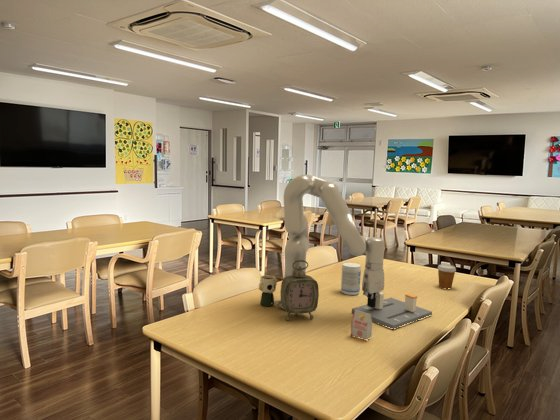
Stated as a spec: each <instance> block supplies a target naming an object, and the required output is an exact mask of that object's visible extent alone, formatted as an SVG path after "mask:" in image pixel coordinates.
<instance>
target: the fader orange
mask: <svg viewBox="0 0 560 420" xmlns="http://www.w3.org/2000/svg"><path fill="white" fill-rule="evenodd" d="M404 297H405V299H404V300H405V301H404V302H405V310H408V311H411V312H414V311H416V306H417V299H418V296H417V295H415V294H412V293H405V294H404Z"/></svg>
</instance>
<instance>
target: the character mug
mask: <svg viewBox="0 0 560 420" xmlns="http://www.w3.org/2000/svg"><path fill="white" fill-rule="evenodd" d="M259 281H260V282H259V283H258V290H259V291H260V292H262V293H261V295H260V296H261V297H260V302H259V303H260V304H261V305H263V306H264V307H270V306H274V305H275V296H274V292H276V290H277V288H276V287H277V283H278V280H277V277H276V276H274V275H269V274H267V275H266V274H265V275H264V274H263V275H261V276H260V280H259Z"/></svg>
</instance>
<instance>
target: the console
mask: <svg viewBox="0 0 560 420" xmlns="http://www.w3.org/2000/svg"><path fill="white" fill-rule="evenodd" d="M354 310H358V311H362V312H365V313H369V314H371V319H372V321H373V322H372V323H375V322H376V323H375V324H377V323H379V324H381V325H380V326H382V325H384V326H387V327H390V328H393V329H394V328H397V327H399V326H402V325H404V324H407V323H410V322H413V321H416V320H418V319H421V318H424V317H426V316H429V315H432V316H433V311H432V310H431V311H430V310H428V309H425V308H422V307H419V306H417V305H416V311H414V312H411V311H408V310H405V301H402V300H401V299H400V300H399V299H396V298H393V297H387V298H385V299H384V298H383V309H377V308H371V307H369V306H367V304H363V305H361V306H357V307H353V308H351V314H353V315H354ZM379 324H378V325H379ZM384 326H383V327H384ZM387 327H386V328H387Z"/></svg>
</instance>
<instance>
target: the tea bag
mask: <svg viewBox="0 0 560 420" xmlns="http://www.w3.org/2000/svg"><path fill="white" fill-rule="evenodd" d="M372 330H373V322H372V319H371V314H369V313H365V312H362V311H358V310H354V314H353V316H352V319H351V328H350V336H351V335H352V336H351V337H353V336H355V337H354V338H356V337H360V338H363V339H368V338H370V337H371V338H372V335H373V333H372V332H373V331H372Z"/></svg>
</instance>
